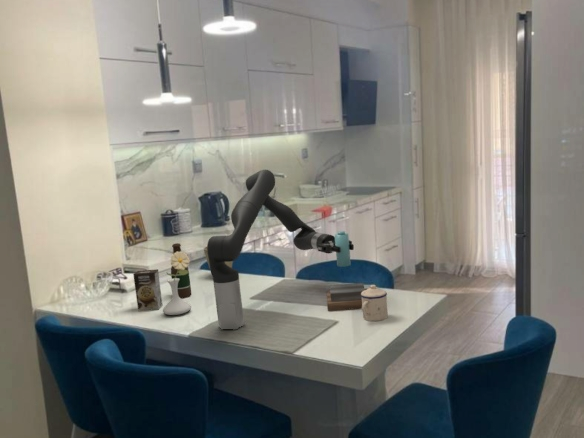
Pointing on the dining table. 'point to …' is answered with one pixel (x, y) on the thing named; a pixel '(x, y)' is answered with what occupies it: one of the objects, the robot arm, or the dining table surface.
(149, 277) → the coffee box
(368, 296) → the teacup with lid
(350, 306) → the tower base
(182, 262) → the flower in vase
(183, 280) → the beer bottle
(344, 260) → the teal bottle
